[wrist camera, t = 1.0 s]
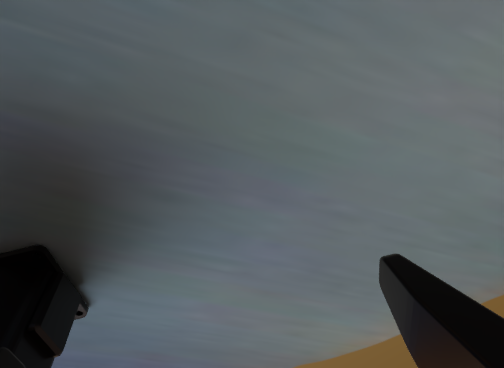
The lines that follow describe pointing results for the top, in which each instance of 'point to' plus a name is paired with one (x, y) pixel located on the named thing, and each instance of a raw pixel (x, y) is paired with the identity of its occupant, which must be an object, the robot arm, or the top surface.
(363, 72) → the top surface
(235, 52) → the top surface
